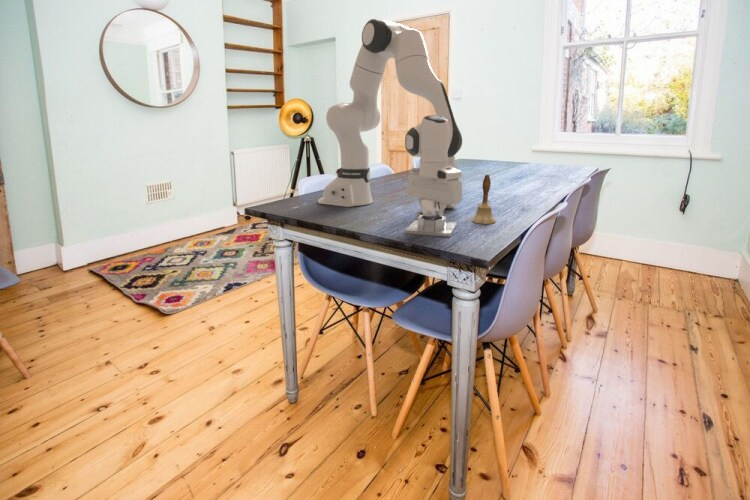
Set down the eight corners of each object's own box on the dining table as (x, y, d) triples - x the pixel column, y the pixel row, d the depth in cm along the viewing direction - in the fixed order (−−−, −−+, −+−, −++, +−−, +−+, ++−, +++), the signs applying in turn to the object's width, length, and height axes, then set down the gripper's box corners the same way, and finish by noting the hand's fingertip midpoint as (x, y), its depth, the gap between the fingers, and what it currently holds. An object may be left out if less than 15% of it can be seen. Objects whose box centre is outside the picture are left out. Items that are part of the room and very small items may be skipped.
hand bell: (478, 217, 163) (481, 172, 158) (499, 220, 158) (503, 174, 153) (466, 221, 157) (469, 175, 152) (489, 225, 152) (492, 177, 147)
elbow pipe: (428, 226, 144) (424, 203, 140) (422, 221, 148) (418, 198, 145) (443, 221, 145) (439, 198, 141) (436, 216, 149) (432, 193, 146)
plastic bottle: (456, 210, 173) (459, 157, 167) (438, 209, 175) (440, 156, 169) (456, 206, 179) (459, 155, 173) (439, 206, 181) (441, 154, 175)
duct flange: (405, 233, 143) (405, 220, 142) (415, 222, 155) (415, 211, 154) (450, 236, 139) (450, 224, 137) (456, 225, 151) (457, 214, 150)
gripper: (402, 168, 147) (401, 210, 151) (453, 175, 132) (450, 221, 136) (415, 166, 151) (414, 207, 155) (466, 172, 136) (463, 217, 141)
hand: (432, 214), depth 146 cm, fingers closed on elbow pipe, 5 cm apart
